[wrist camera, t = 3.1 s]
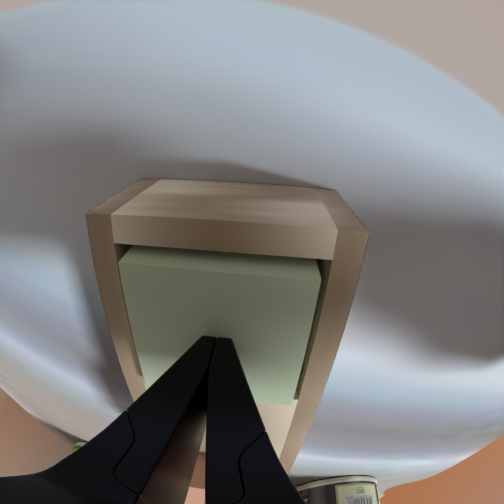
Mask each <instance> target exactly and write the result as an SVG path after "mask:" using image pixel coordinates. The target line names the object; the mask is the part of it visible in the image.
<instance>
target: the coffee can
mask: <svg viewBox="0 0 504 504" xmlns="http://www.w3.org/2000/svg"><path fill="white" fill-rule="evenodd" d="M296 489H297V490H298V492H299V494H300V495H301V497H302V498H303V500H304V501H305V503H306V504H380V500H379V493H378V486H377V479H376V478H374V477H371V476H345V477H336V478H330V479H324V480H319V481H314V482H310V483H306V484H303V485H299V486H296Z"/></svg>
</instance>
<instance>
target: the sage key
mask: <svg viewBox="0 0 504 504" xmlns="http://www.w3.org/2000/svg"><path fill="white" fill-rule="evenodd" d="M118 265H119V271H120V277H121V283H122V288H123V294H124V299H125V304H126V309H127V313H128V318H129V323H130V327H131V331H132V336H133V340H134V344H135V348H136V352H137V355H138V359H139V363H140V367H141V370H142V374H143V377H144V381H145V384H146V387H147V389H148V388H149V387H150V386H151V385H152V384H153V383H154V382H155V381H156V380H157V379H158V378H159V377H160V376H161V375H162V374H163V373H165V372H166V371H167V370H168V369H169V368H170V367H171V366H172V365H173V364H174V363H175V362H176V361H177V360H178V359H179V358H180V357H181V356H182V355H183V354H184V353H185V352H186V351H187V350H188V349H189V348H190V347H191V346H192V345H193V344H194V343H195V342H196V341H197V340H198V339H199V338H200V337H201V336H203V335H206V336H214V337H216V338H218V337H225V338H231V339H232V340H233V343H234V345H235V348H236V351H237V354H238V357H239V359H240V362H241V365H242V368H243V371H244V373H245V376H246V379H247V381H248V384H249V387H250V389H251V392H252V395H253V397H254V400H255V403H261V404H281V405H292V402H293V398H294V395H295V391H296V387H297V383H298V380H299V376H300V372H301V368H302V364H303V360H304V356H305V352H306V348H307V343H308V339H309V335H310V331H311V326H312V322H313V317H314V313H315V308H316V303H317V299H318V294H319V289H320V284H321V276H320V273H319V269H318V266H317V262H316V259H313V258H300V257H287V256H273V255H260V254H247V253H234V252H221V251H208V250H195V249H182V248H169V247H156V246H144V245H133V246H132V247H131V249H130V250H129V251H128V252H127V253H126V254H125V255H124V256H123V257H122V259H121V260H120V261H119V262H118Z"/></svg>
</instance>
